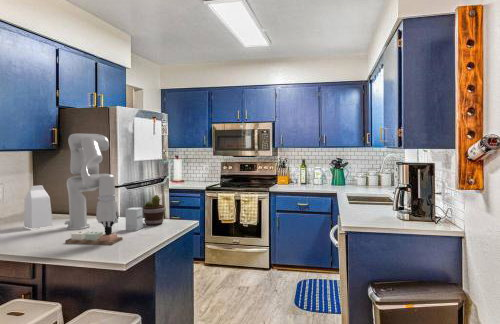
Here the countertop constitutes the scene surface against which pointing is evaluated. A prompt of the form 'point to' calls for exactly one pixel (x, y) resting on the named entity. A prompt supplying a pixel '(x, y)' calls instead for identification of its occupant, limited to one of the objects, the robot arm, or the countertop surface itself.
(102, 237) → the tile three
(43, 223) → the milk
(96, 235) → the tile two
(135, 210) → the supplement box
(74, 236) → the tile one
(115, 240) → the board
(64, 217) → the countertop surface
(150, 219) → the flowerpot
